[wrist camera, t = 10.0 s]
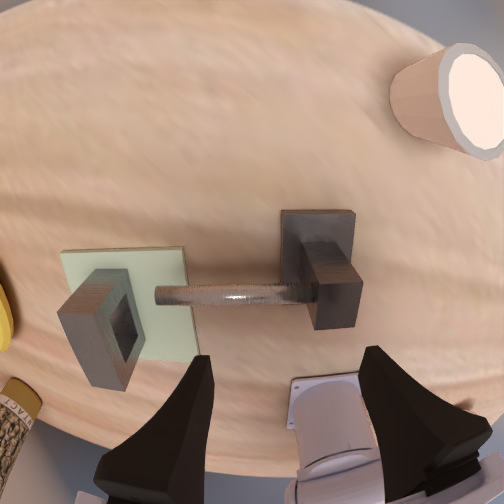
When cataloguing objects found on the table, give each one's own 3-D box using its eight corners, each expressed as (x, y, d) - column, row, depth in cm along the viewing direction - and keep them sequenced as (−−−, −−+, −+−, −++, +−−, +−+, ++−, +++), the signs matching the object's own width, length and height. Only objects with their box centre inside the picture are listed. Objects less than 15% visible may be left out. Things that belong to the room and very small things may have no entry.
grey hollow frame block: (146, 339, 23) (125, 391, 18) (116, 337, 23) (91, 386, 18) (127, 268, 21) (93, 315, 15) (95, 268, 21) (56, 312, 15)
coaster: (200, 357, 25) (199, 362, 24) (97, 350, 25) (95, 353, 24) (183, 246, 21) (181, 250, 20) (62, 250, 21) (59, 253, 20)
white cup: (364, 73, 16) (417, 54, 9) (431, 50, 14) (490, 36, 8) (405, 160, 18) (464, 179, 12) (464, 130, 17) (525, 140, 10)
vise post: (341, 294, 22) (367, 349, 16) (182, 299, 22) (162, 356, 16) (351, 210, 20) (391, 246, 14) (170, 213, 20) (137, 252, 14)
